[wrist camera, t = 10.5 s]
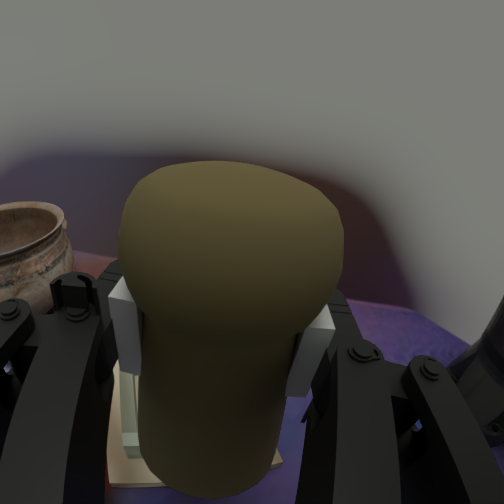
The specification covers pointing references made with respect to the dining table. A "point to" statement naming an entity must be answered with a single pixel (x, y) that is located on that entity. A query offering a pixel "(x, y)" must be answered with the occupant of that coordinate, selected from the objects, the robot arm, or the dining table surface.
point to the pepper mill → (222, 313)
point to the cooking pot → (32, 252)
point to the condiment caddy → (131, 437)
